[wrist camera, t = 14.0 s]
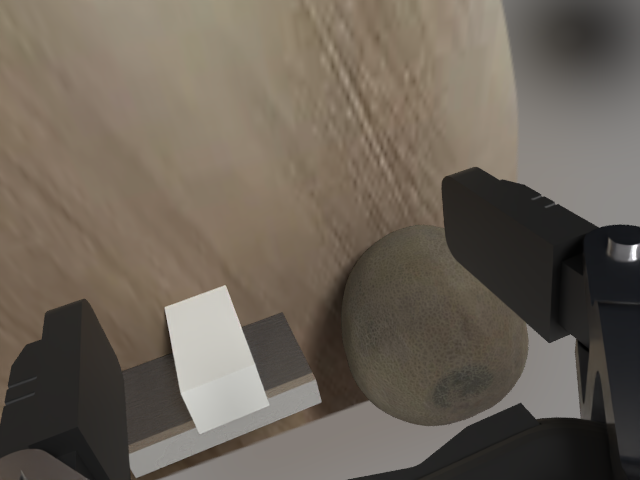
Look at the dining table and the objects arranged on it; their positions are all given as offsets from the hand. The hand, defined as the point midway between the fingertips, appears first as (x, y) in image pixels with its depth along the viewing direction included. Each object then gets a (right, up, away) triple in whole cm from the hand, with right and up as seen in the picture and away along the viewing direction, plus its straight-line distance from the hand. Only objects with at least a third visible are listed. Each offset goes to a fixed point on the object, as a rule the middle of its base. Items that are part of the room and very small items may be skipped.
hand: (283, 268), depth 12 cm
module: (-9, -5, +33) cm, 35 cm away
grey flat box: (-9, -9, +35) cm, 37 cm away
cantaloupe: (+7, -2, +38) cm, 39 cm away
